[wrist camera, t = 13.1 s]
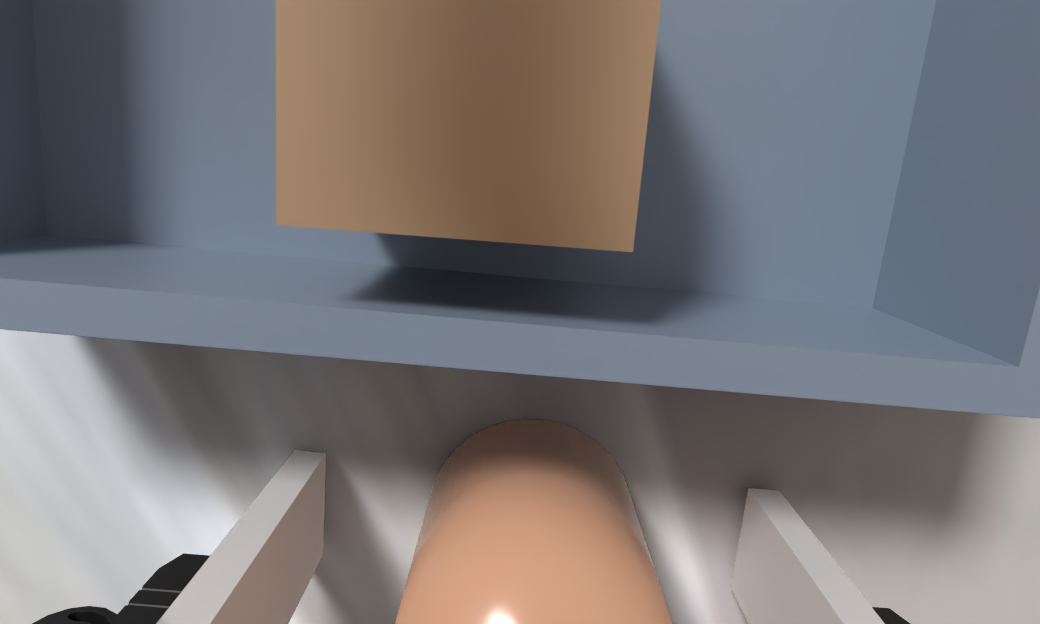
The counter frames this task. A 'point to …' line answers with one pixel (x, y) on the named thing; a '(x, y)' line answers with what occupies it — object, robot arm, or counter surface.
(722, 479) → the counter surface
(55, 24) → the tote
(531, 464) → the peach capsule pill
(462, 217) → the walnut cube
